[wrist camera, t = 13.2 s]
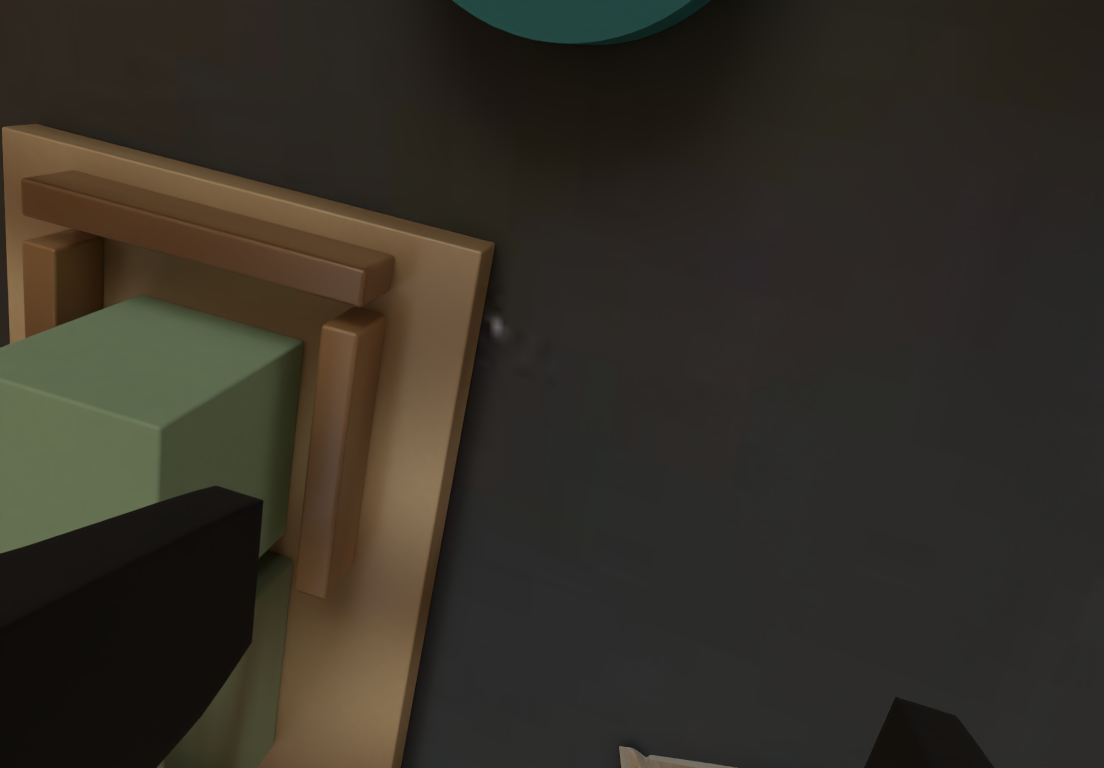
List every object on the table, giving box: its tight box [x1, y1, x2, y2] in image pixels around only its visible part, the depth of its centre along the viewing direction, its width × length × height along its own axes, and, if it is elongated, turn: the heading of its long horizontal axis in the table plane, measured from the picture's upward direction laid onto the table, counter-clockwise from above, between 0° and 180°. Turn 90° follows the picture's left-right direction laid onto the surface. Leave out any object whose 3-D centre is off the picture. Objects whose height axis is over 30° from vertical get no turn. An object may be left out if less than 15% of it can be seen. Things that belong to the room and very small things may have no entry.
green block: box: [0, 295, 304, 558], centre depth 18 cm, size 5×4×5 cm
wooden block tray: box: [2, 124, 495, 768], centre depth 20 cm, size 16×11×6 cm
